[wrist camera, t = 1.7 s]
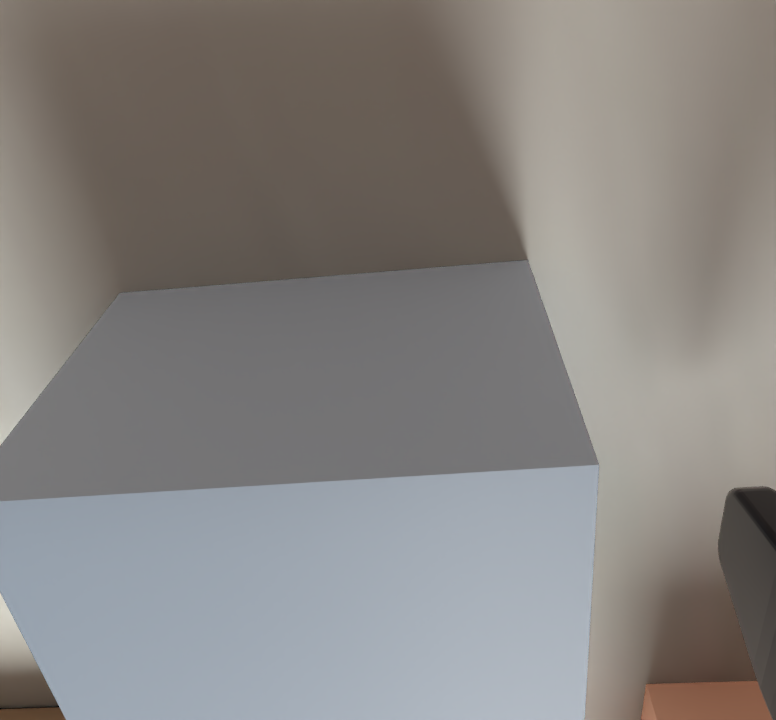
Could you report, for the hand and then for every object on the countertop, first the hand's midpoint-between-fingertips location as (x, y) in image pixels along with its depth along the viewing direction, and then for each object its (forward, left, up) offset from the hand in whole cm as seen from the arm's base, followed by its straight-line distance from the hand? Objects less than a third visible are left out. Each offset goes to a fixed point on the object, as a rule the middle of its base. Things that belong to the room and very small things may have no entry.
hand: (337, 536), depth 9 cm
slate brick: (0, 0, -2) cm, 2 cm away
